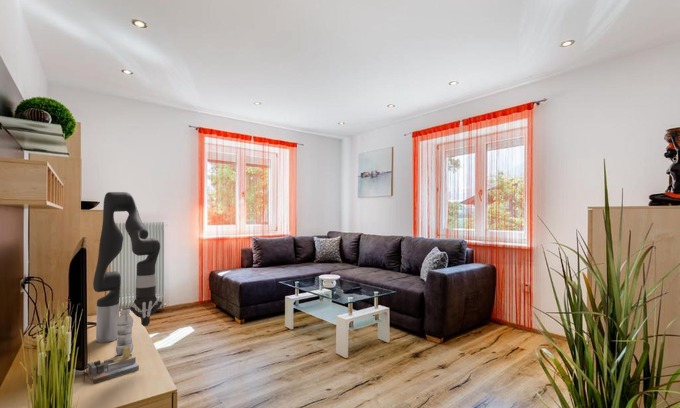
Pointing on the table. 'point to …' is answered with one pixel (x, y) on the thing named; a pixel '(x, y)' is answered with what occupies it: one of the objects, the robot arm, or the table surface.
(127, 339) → the silver threaded hollow container
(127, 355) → the bolt
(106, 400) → the table surface
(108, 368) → the lock board
